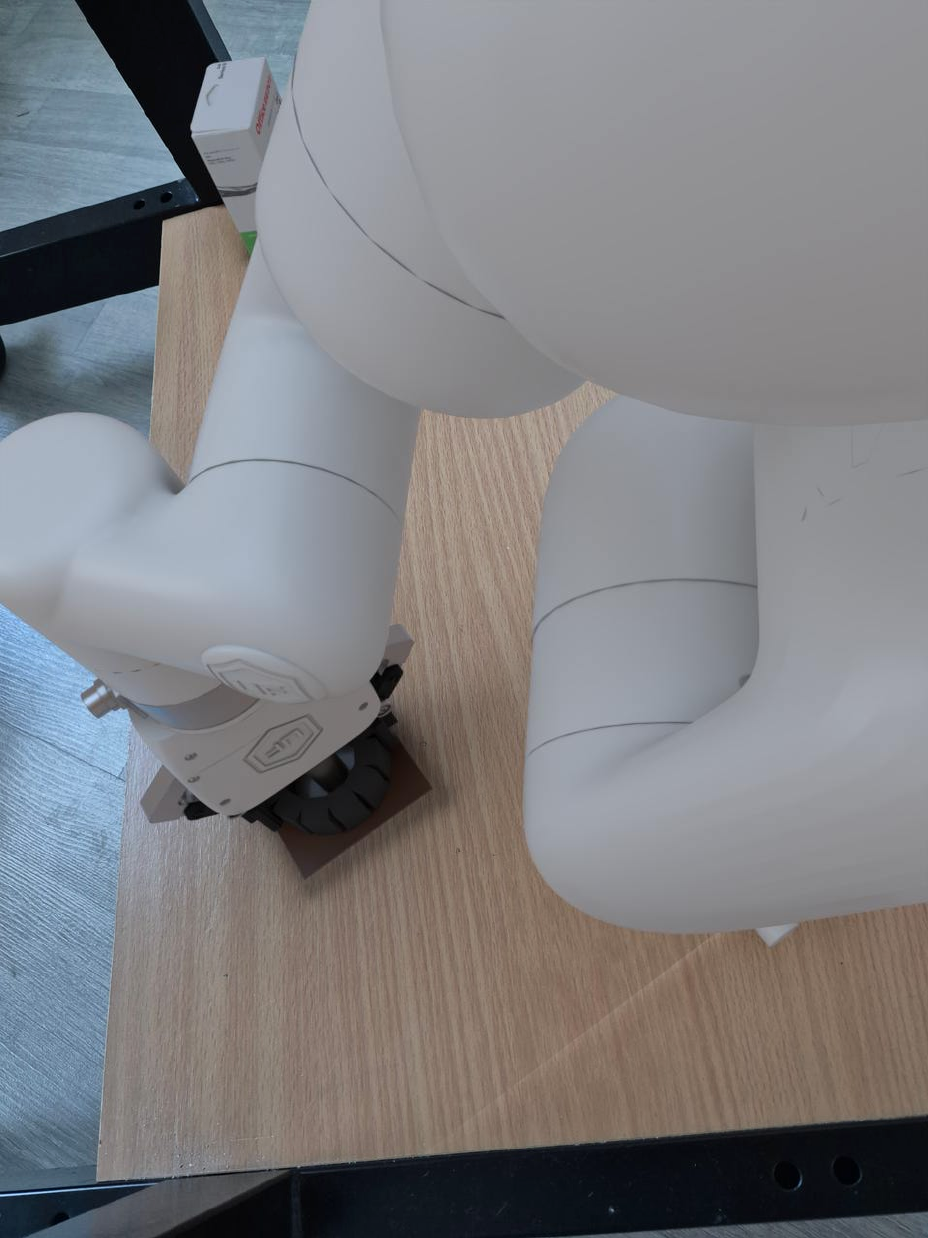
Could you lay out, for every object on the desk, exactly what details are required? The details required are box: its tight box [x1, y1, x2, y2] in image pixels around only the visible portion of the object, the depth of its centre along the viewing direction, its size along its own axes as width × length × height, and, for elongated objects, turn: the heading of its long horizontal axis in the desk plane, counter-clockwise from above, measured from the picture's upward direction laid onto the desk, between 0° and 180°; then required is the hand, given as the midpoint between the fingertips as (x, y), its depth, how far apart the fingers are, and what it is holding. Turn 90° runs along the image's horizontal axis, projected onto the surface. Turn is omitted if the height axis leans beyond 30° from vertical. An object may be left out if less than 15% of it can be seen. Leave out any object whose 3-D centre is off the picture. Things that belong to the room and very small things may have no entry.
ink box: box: [190, 56, 282, 257], centre depth 80 cm, size 9×5×12 cm, turn 178°
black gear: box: [265, 726, 391, 836], centre depth 59 cm, size 7×7×3 cm
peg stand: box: [276, 726, 434, 880], centre depth 59 cm, size 9×9×6 cm
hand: (325, 768), depth 59 cm, fingers closed on black gear, 7 cm apart
